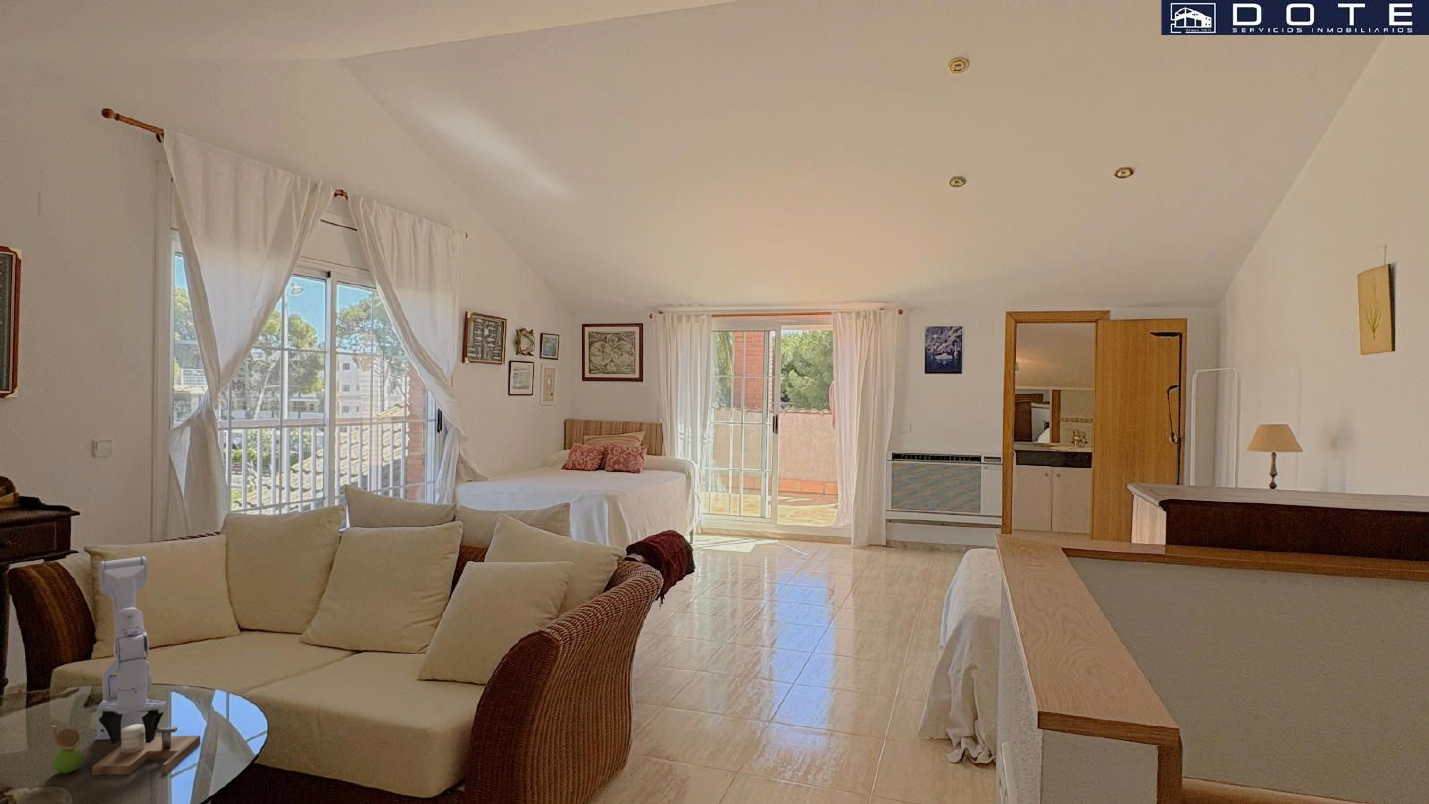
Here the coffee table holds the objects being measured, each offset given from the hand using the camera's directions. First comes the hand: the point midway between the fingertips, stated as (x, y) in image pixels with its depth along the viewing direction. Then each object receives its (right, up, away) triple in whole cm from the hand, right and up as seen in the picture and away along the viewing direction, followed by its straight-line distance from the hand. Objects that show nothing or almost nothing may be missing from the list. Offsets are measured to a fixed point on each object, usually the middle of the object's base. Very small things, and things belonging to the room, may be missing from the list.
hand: (133, 741), depth 189 cm
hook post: (+7, -2, +1) cm, 8 cm away
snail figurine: (-10, -4, -7) cm, 13 cm away
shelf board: (+4, -4, 0) cm, 6 cm away
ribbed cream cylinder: (0, -2, 0) cm, 2 cm away
